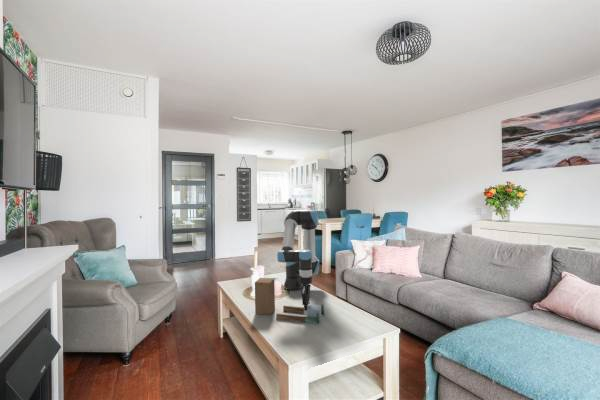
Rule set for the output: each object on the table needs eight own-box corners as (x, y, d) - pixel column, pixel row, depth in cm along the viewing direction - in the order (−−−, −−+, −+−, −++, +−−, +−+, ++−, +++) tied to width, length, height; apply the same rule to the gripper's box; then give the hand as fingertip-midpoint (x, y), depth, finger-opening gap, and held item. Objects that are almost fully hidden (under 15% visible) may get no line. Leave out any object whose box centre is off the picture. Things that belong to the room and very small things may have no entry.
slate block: (310, 315, 173) (310, 304, 173) (321, 316, 171) (321, 305, 171) (307, 320, 166) (307, 308, 166) (319, 321, 165) (318, 309, 164)
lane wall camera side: (277, 318, 170) (276, 308, 170) (319, 322, 163) (319, 312, 163) (276, 319, 169) (276, 309, 169) (318, 324, 161) (318, 313, 161)
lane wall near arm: (284, 310, 182) (284, 300, 182) (323, 314, 175) (323, 304, 174) (283, 310, 181) (283, 301, 181) (323, 315, 173) (323, 305, 173)
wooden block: (270, 315, 175) (269, 282, 174) (255, 314, 177) (254, 282, 176) (275, 308, 184) (274, 278, 184) (260, 307, 186) (259, 277, 186)
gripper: (302, 272, 178) (303, 310, 178) (296, 278, 165) (297, 318, 165) (314, 273, 175) (314, 311, 176) (309, 279, 163) (309, 320, 163)
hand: (306, 314), depth 171 cm, fingers closed
